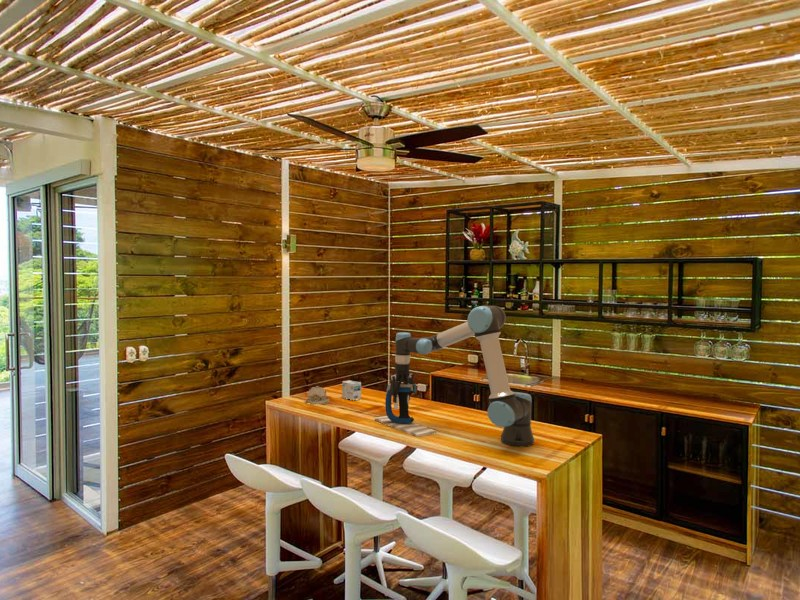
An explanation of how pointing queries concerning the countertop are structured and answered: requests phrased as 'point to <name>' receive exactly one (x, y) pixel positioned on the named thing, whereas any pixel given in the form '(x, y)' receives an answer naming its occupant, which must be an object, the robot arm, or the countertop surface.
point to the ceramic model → (317, 396)
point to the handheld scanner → (400, 403)
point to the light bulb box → (351, 390)
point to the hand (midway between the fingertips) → (401, 408)
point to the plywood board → (407, 427)
